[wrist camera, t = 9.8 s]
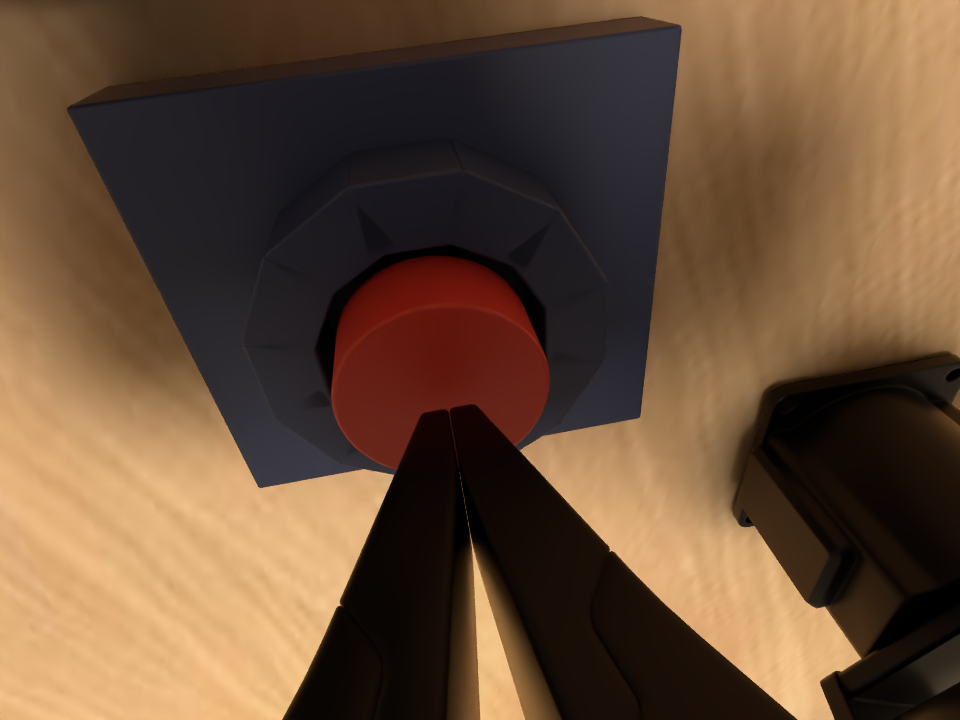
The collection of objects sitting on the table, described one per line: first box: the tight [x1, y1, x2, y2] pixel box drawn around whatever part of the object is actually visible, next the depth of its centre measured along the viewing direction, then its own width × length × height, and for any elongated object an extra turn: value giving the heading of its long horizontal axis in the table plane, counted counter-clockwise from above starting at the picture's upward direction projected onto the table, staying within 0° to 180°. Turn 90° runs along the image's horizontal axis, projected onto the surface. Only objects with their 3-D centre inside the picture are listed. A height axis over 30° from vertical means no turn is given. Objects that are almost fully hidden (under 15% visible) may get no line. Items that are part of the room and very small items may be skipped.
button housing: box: [67, 16, 682, 488], centre depth 12 cm, size 10×9×4 cm
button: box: [331, 255, 550, 472], centre depth 10 cm, size 4×4×2 cm
